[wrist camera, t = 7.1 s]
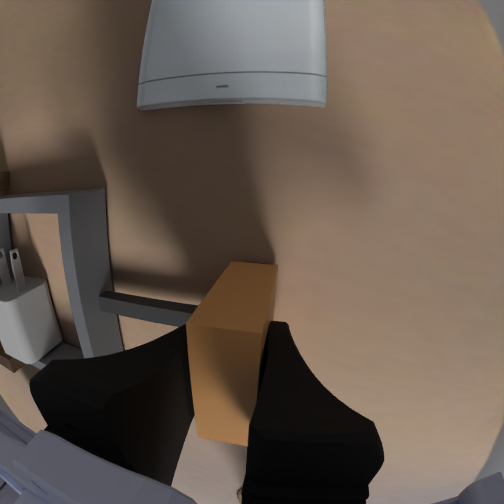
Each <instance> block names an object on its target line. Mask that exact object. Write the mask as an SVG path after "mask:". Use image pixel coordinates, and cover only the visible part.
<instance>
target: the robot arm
mask: <svg viewBox="0 0 504 504" xmlns="http://www.w3.org/2000/svg"><path fill="white" fill-rule="evenodd" d="M29 385H30V391H31V394H32V397H33V399H34V401H35V403H36V405H37V407H38V409H39V411H40V413H41V414H42V416H43V418H44V420H45V421H46V423H47V425H48V426H47V427H46V428H45V429H44V430H40V431H39V432H38V433H37V434H36V433H35V432H34V431H32V430H31V429H29V428H28V427H26V426H25V425H24V424H22V423H21V422H19V421H18V420H17V419H15V418H14V417H13V416H12V415H10V414H9V413H8V412H6V411H5V410H4V409H3V408H1V407H0V504H197V503H196V502H195V501H194V500H193V499H192V498H190V497H189V496H187V495H185V494H183V493H181V492H180V491H178V490H176V489H175V488H173V487H171V484H172V480H173V477H174V473H175V470H176V467H177V463H178V460H179V457H180V454H181V451H182V448H183V445H184V441H185V439H186V436H187V433H188V430H189V427H190V424H191V422H192V420H193V417H194V415H195V413H194V404H193V396H192V387H191V377H190V367H189V356H188V344H187V331H186V324H184V325H182V326H180V327H179V328H177V329H175V330H173V331H171V332H169V333H167V334H165V335H163V336H161V337H159V338H157V339H155V340H153V341H151V342H148V343H146V344H143V345H141V346H138V347H135V348H132V349H129V350H125V351H121V352H117V353H113V354H109V355H104V356H98V357H92V358H83V359H61V360H55V359H53V360H51V361H50V362H49V363H48V364H47V365H46V366H45V367H44V368H42V369H41V370H40V371H39V372H38V373H37V374H36V375H35V376H34V377H32V378H31V379H30V384H29ZM383 462H384V451H383V446H382V442H381V439H380V437H379V434H378V432H377V429H376V427H375V424H374V422H373V421H371V420H369V419H367V418H366V417H364V416H362V415H361V414H359V413H357V412H356V411H354V410H352V409H351V408H349V407H348V406H347V405H345V404H344V403H343V402H341V401H340V400H339V399H337V398H336V397H335V396H334V395H333V394H332V393H331V392H330V391H328V390H327V389H326V388H325V387H324V386H323V385H322V384H321V382H320V381H319V380H318V379H317V378H316V377H315V375H314V374H313V373H312V372H311V370H310V369H309V367H308V366H307V364H306V363H305V361H304V360H303V358H302V356H301V355H300V353H299V351H298V349H297V347H296V345H295V343H294V341H293V338H292V336H291V333H290V330H289V325H288V324H287V323H286V322H279V321H270V324H269V328H268V337H267V348H266V360H265V371H264V377H263V381H262V385H261V389H260V392H259V396H258V399H257V403H256V406H255V409H254V412H253V415H252V418H251V421H250V423H249V432H248V447H247V462H246V474H245V479H244V483H243V487H242V492H241V495H242V502H241V504H366V499H367V498H368V497H369V487H368V484H369V483H370V482H371V481H372V479H373V478H374V476H375V475H376V474H377V472H378V471H379V470H380V468H381V466H382V464H383ZM433 504H504V479H503V476H502V474H501V472H498V473H496V474H493V475H490V476H488V477H485V478H483V479H480V480H478V481H476V482H474V483H472V484H470V485H469V486H467V487H466V488H465V489H464V490H463V491H462V492H461V493H460V494H459V496H457V497H454V498H450V499H447V500H444V501H440V502H437V503H433Z"/></svg>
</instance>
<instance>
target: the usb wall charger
mask: <svg viewBox="0 0 504 504" xmlns="http://www.w3.org/2000/svg"><path fill="white" fill-rule="evenodd" d="M0 251H2V253H3V257H2V258H0V275H1V280H2V285H0V341H1V343H2V346H3V348H4V351H5V353H6V354H8V355H10V356H12V357H14V358H16V359H17V360H19V361H21V362H23V363H25V364H32V363H35V362H37V361H38V360H39V359H40V358H42V357H43V356H44V355H45V354H47V353H48V352H49V351H50V350H51V349H53V348H54V347H55V346H56V345H58V344H59V343H60V342H61V341H62V335H61V332H60V329H59V326H58V322H57V319H56V316H55V312H54V308H53V305H52V301H51V297H50V293H49V289H48V285H47V280H46V279H39V278H32V277H26V276H24V274H23V269H22V264H21V260H20V256H19V252H18V248H15V249H13V250H10V257H11V264H12V269H13V274H14V279H12V280H11V279H10V275H9V270H8V265H7V260H6V257H5V253H4V249H3V248H0ZM14 252H16V253H17V258H16V259H15V260H14V259H13V253H14Z"/></svg>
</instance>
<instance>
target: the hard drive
mask: <svg viewBox="0 0 504 504" xmlns="http://www.w3.org/2000/svg"><path fill="white" fill-rule="evenodd" d="M326 76H327V66H326V21H325V5H324V0H152V3H151V7H150V12H149V17H148V22H147V27H146V33H145V38H144V44H143V51H142V59H141V66H140V74H139V86H138V95H137V108H139V109H141V110H144V111H146V110H154V109H162V108H172V107H183V106H197V105H216V104H282V105H301V106H314V107H323V108H324V107H325V105H326V98H327V79H326Z"/></svg>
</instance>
